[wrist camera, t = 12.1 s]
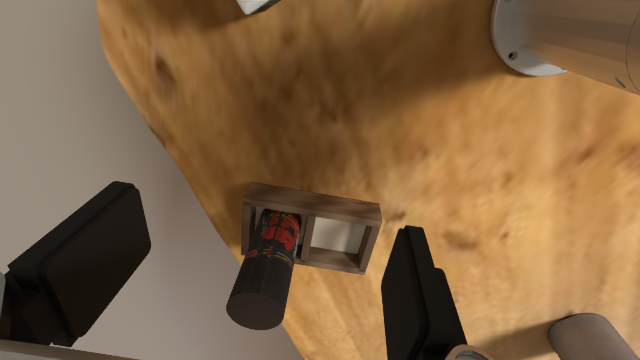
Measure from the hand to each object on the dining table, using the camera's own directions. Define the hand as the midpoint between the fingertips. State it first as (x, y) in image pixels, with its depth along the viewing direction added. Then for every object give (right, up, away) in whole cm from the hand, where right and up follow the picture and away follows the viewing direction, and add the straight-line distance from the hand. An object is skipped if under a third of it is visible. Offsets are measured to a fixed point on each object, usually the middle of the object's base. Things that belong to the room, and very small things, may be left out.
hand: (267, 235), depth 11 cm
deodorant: (-4, -4, +34) cm, 34 cm away
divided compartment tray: (+1, -4, +35) cm, 35 cm away
